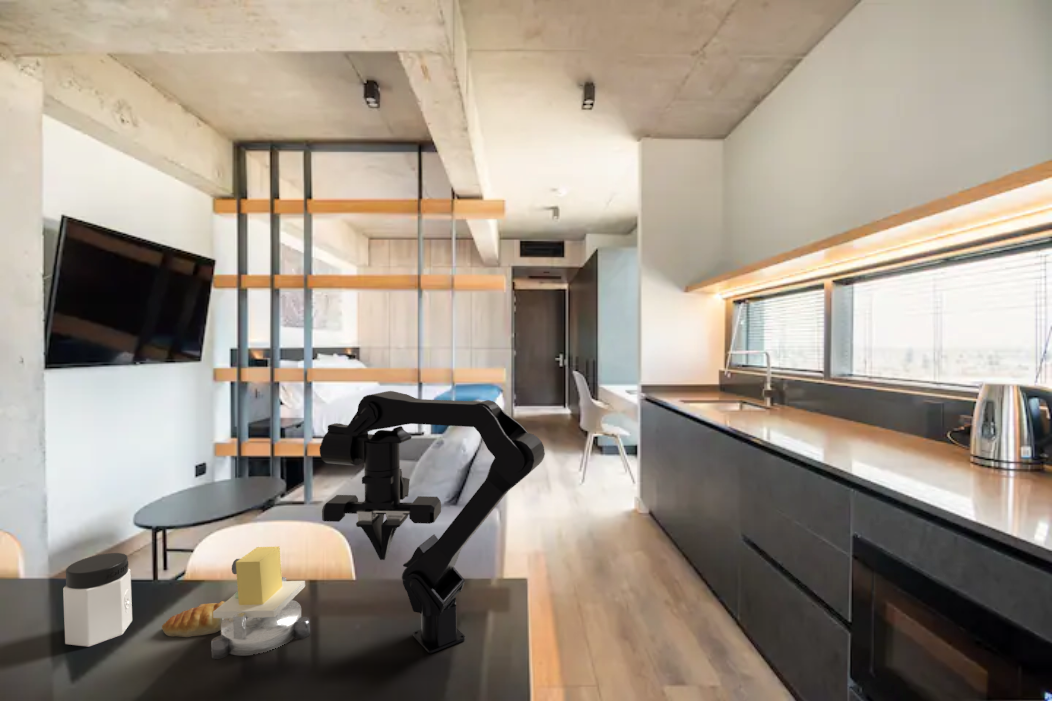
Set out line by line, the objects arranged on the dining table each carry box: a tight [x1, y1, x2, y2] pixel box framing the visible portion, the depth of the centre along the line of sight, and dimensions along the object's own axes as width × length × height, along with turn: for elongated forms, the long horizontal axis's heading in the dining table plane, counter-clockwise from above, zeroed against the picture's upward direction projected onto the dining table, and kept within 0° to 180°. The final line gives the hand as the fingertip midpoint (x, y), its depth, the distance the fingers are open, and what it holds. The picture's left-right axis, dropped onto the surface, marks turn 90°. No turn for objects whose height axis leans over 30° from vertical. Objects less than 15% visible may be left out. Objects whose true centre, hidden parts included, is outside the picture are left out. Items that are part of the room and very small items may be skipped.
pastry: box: [161, 600, 226, 638], centre depth 91 cm, size 9×7×4 cm
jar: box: [62, 552, 133, 647], centre depth 89 cm, size 9×8×12 cm
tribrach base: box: [210, 576, 311, 660], centre depth 88 cm, size 14×14×6 cm
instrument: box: [213, 546, 306, 619], centre depth 88 cm, size 10×11×8 cm
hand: (383, 558), depth 89 cm, fingers closed
